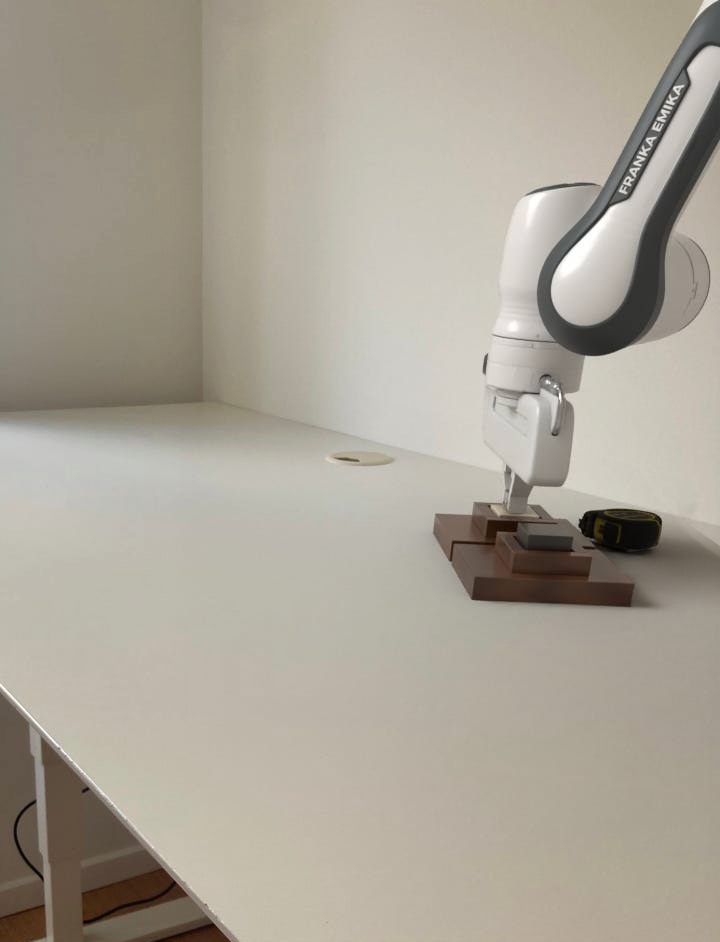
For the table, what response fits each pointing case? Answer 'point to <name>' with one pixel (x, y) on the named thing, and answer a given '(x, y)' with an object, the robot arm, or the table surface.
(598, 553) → the key block near
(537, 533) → the black key
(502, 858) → the table surface
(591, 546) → the key block far
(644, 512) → the tape measure
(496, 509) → the ivory key
